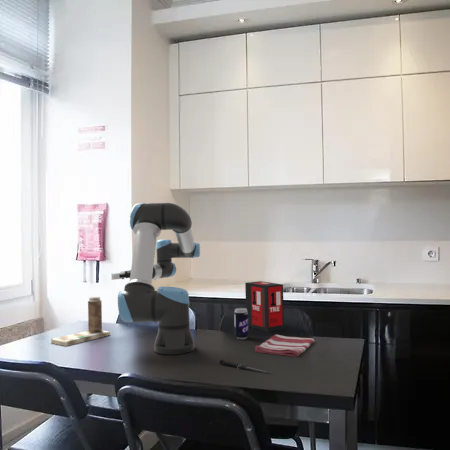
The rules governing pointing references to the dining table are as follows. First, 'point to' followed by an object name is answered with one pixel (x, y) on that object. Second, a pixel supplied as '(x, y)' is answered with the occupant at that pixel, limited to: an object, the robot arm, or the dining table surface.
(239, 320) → the beverage can
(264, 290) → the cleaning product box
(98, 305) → the brown cylinder
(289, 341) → the dish towel
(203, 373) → the dining table surface
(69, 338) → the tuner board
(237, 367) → the knife
